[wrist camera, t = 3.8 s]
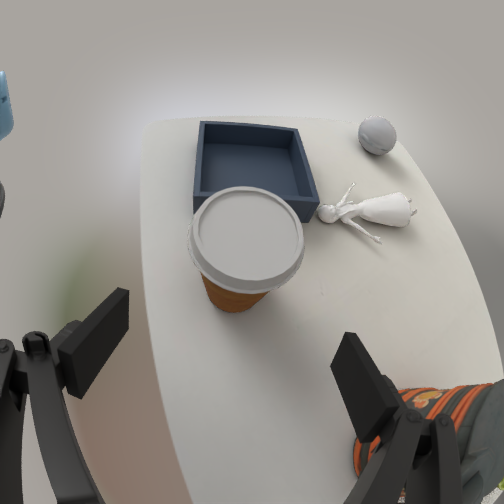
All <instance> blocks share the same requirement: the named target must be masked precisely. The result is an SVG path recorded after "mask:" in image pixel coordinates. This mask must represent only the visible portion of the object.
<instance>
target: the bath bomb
mask: <svg viewBox="0 0 504 504" xmlns="http://www.w3.org/2000/svg"><path fill="white" fill-rule="evenodd" d="M358 137H359V141H360V143H361V145H362V146H363V147H364V148H365V149H366V150H367V151H368V152H370V153H372V154H377V155H381V154H385V153H388V152H389V151H391V150H392V148H393V147H394V145H395V143H396V132H395V129H394V127H393V125H392V124H391V123H390V122H389V121H388V120H386V119H385V118H382V117H379V116H372V117H369V118H367V119H365V120H364V121H363V122H362V123H361V125H360V127H359V131H358Z"/></svg>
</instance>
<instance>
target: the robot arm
mask: <svg viewBox="0 0 504 504" xmlns="http://www.w3.org/2000/svg"><path fill="white" fill-rule="evenodd" d="M13 124H14V122H13V116H12V109H11V104H10V98H9V93H8V87H7V80H6V75H5V72H4V71H2V72H0V140H2V139H3V138H4V137H6V136H7V135H8V134H9V133H10V132H11V130H12V128H13ZM128 329H129V290H126V289H122V288H117V289H116V290H115V291H114V292H113V293H111V294H110V295H109V296H108V297H107V298H106V299H105V300H104V301H103V302H102V303H101V304H100V305H99V306H98V307H97V308H96V309H95V310H94V311H93V312H92V313H91V314H90V315H89V316H88V317H87V318H86V319H85V320H84V321H83V322H81V321H78V320H75V321H72V322H70V323H68V324H67V325H66V326H65V327H64V328H63V330H61V331H60V332H59V333H58V334H57V335H55V337H53V338H52V339H51V341H49V339H48V336H47V335H46V334H45V333H42V332H39V331H33V332H29V333H28V334H26V335H25V336H24V337H23V339H22V343H23V347H24V350H25V352H22V351H18V350H15V348H14V345H13V343H12V342H11V341H10V340H7V339H0V504H23V493H22V474H21V455H22V433H23V422H24V412H25V405H26V398H27V394H29V395H30V402H31V408H32V414H33V419H34V425H35V429H36V434H37V439H38V442H39V447H40V451H41V454H42V458H43V461H44V465H45V468H46V471H47V474H48V477H49V480H50V483H51V486H52V489H53V491H54V494H55V496H56V499H57V504H105V502H104V500H103V498H102V496H101V494H100V493H99V491H98V488H97V486H96V485H95V482H94V480H93V478H92V476H91V474H90V471H89V469H88V467H87V465H86V462H85V460H84V457H83V455H82V452H81V450H80V447H79V445H78V442H77V439H76V436H75V433H74V430H73V427H72V424H71V421H70V418H69V414H68V411H67V408H66V404H65V401H64V397H63V393H62V390H63V388H64V387H65V386H66V388H67V392H68V394H70V395H72V396H74V397H77V398H79V399H82V398H83V396H84V395H85V393H86V392H87V390H88V389H89V387H90V385H91V384H92V382H93V381H94V379H95V378H96V376H97V374H98V373H99V372H100V370H101V369H102V367H103V366H104V364H105V363H106V361H107V360H108V358H109V357H110V355H111V354H112V352H113V351H114V349H115V348H116V347H117V345H118V343H119V342H120V341H121V339H122V338H123V337H124V335H125V333H126V332H127V331H128ZM330 367H331V370H332V372H333V375H334V377H335V380H336V382H337V385H338V388H339V390H340V393H341V395H342V398H343V400H344V403H345V406H346V408H347V411H348V413H349V416H350V419H351V421H352V424H353V427H354V429H355V432H356V435H357V437H358V440H359V443H360V444H361V443H370V442H373V441H374V440H375V439H376V437H377V436H378V435H379V437H380V442H379V443H378V444H377V445H376V446H375V448H374V449H373V450H372V451H371V452H370V453H373V454H372V456H371V458H370V460H369V462H368V463H367V465H366V467H365V469H364V471H363V473H362V474H361V476H360V478H359V479H358V481H357V483H356V485H355V486H354V488H353V489H352V491H351V493H350V494H349V496H348V497H347V499H346V501H345V502H344V504H397V502H398V499H399V497H400V495H401V492H402V490H403V487H404V485H405V482H406V479H407V483H406V493H405V502H404V504H463V489H462V475H461V465H460V457H459V449H458V443H457V437H456V431H455V426H454V422H453V419H452V418H451V417H450V416H449V415H447V414H445V413H438V414H437V415H436V416H435V417H434V419H425V418H423V416H422V414H421V413H420V412H418V411H417V410H415V409H411V408H408V407H407V405H406V403H405V402H404V400H403V399H402V397H401V395H400V394H399V393H398V390H397V389H396V388H395V385H394V384H393V382H392V381H391V380H390V379H389V378H388V377H387V376H386V375H381V373H380V371H379V370H378V368H377V366H376V365H375V363H374V361H373V360H372V358H371V357H370V355H369V353H368V352H367V350H366V349H365V347H364V345H363V344H362V342H361V341H360V339H359V337H358V336H357V334H356V333H351V332H345V333H344V336H343V338H342V341H341V343H340V345H339V348H338V350H337V352H336V354H335V357H334V359H333V361H332V363H331V365H330Z"/></svg>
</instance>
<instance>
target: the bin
mask: <svg viewBox="0 0 504 504" xmlns="http://www.w3.org/2000/svg"><path fill="white" fill-rule="evenodd" d="M240 186H246V187H255V188H259V189H264V190H266V191H268V192H271V193H273V194H275V195H276V196H278V197H280V198H281V199H282V200H283V201H285V202H286V203H287V204H288V205H289V206H290V207H291V208H292V209H293V210H294V212H295V213H296V215H297V216H298V218H299V220H300V222H306V223H308V222H309V221H310V219H311V217H312V216H313V214H314V212H315V210H316V209H317V207H318V205H319V203H320V201H319V197H318V193H317V190H316V186H315V183H314V180H313V176H312V173H311V169H310V166H309V163H308V160H307V156H306V153H305V150H304V147H303V144H302V141H301V138H300V135H299V132H298V129H294V128H286V127H278V126H270V125H260V124H249V123H235V122H217V121H200V126H199V135H198V145H197V155H196V166H195V178H194V192H193V216H194V214H195V213H196V212H197V211H198V209H199V208H200V207H201V206H202V204H203V203H204V202H205V200H206V199H208V198H209V197H211V196H212V195H214V194H215V193H217V192H219V191H222V190H224V189H227V188H232V187H240Z"/></svg>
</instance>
